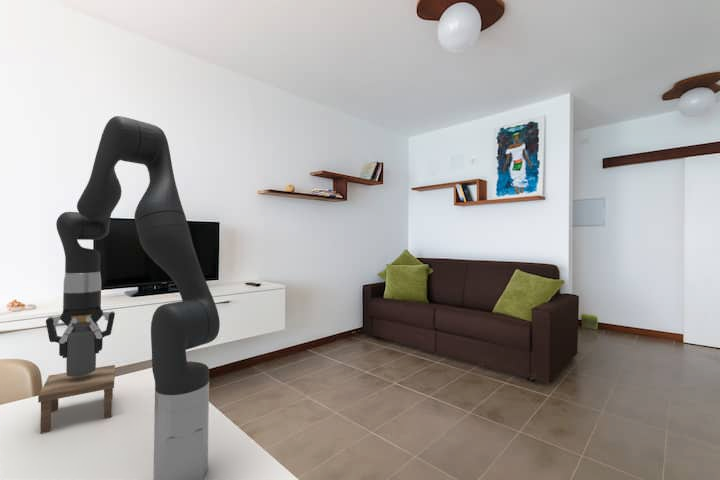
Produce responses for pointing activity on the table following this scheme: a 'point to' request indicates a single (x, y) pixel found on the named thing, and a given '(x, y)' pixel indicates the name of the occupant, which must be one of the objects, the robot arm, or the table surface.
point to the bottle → (81, 348)
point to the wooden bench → (75, 391)
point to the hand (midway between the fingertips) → (81, 354)
